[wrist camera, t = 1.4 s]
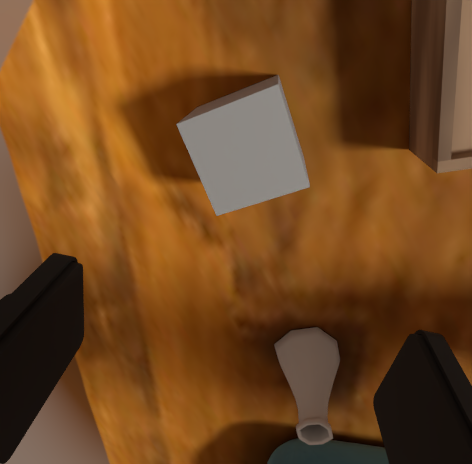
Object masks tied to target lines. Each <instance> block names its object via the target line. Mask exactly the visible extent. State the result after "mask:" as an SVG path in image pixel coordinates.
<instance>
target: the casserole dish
mask: <svg viewBox="0 0 472 464" xmlns="http://www.w3.org/2000/svg"><path fill="white" fill-rule="evenodd" d="M267 464H389V461H388V458H387V454H386V450H385V448H383V447H378V446H371V445H365V444H358V443H351V442H343V441H336V440H329V441H328V442H326V443H324V444H319V445H308V444H306V443H305V442H303V441H302V440H300V439H299V438H297V439H293V440H289V441H288V442H286V443H284V444H282V445H280V446H279V447H278V448H276V449H275V451H274V452H273V453H272V455H271V456H270V458H269V460H268V462H267Z"/></svg>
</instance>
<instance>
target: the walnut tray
mask: <svg viewBox="0 0 472 464" xmlns="http://www.w3.org/2000/svg"><path fill="white" fill-rule="evenodd" d="M409 150H410V151H411V152H412V153H414V154H415V155H416V156H417V157H418V158H420V159H421V160H422V161H423V162H424V163H426V164H427V165H428V166H429V167H430V168H432V169H433V170H434V171H435V172H436V173H442V172H449V171H456V170H463V169H471V168H472V0H412V15H411V70H410V125H409Z"/></svg>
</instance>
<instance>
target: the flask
mask: <svg viewBox="0 0 472 464" xmlns="http://www.w3.org/2000/svg"><path fill="white" fill-rule="evenodd" d="M274 346H275V350H276V353H277V357H278V360H279V363H280V366H281V368H282V370H283V372H284V374H285V376H286V378H287V381H288V383H289V385H290V387H291V390H292V392H293V395H294V397H295V399H296V403H297V407H298V414H299V423H298V424H297V425H296V431H297V434H298V438H299V439H300V440H302V441H303V442H305V443H306V444H308V445H319V444H324V443H326V442H328V441H329V440H331V439H333V434H332V430H331V426H330V424H329V423H328V418H327V414H328V401H329V397H330V393H331V389H332V386H333V382H334V379H335V376H336V373H337V370H338V366H339V363H340V355H339V350H338V344H337V341H336V340H335V339H334V338H332V337H331V336H329V335H328V334H327V333H325V332H324V331H322V330H321V329H320V328H318V327H314V328H306V329H299V330H291V331H290V332H289V333H287V334H286V335H285V336H284V337H283V338H281V339H280V340H279V341H278V342H276V343H275V344H274Z"/></svg>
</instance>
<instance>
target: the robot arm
mask: <svg viewBox="0 0 472 464" xmlns="http://www.w3.org/2000/svg"><path fill="white" fill-rule="evenodd" d="M83 337H84V303H83V266H82V264H80V263H78V262H77V259H76V258H75V257H72V256H67V255H62V254H58V253H53V254H52V255H51V256H49V257H48V258H47V259H46V260H45V261H44V262H43V263H42V264H41V265H40V266H39V267H38V268H37V269H36V270H35V271H34V272H33V273H32V274H31V275H30V276H29V277H28V278H27V279H26V280H25V281H24V282H23V283H22V284H21V285H20V286H19V287H18V288H17V289H16V290H15V291H14V292H13V293H12V294H8V295H6V296H5V297H3V298H2V299H1V300H0V463H1V464H4V463H6V462H7V461H8V460H9V459H10V457H11V456H12V454H13V453H14V451H15V449H16V448H17V446H18V445H19V443H20V442H21V440H22V438H23V437H24V435H25V434H26V432H27V430H28V429H29V427H30V425H31V424H32V422H33V421H34V419H35V418H36V416H37V414H38V413H39V411H40V410H41V408H42V406H43V405H44V403H45V401H46V400H47V398H48V397H49V395H50V394H51V392H52V390H53V389H54V387H55V386H56V384H57V382H58V381H59V379H60V377H61V376H62V374H63V373H64V371H65V370H66V368H67V366H68V365H69V363H70V362H71V360H72V358H73V357H74V355H75V354H76V352H77V350H78V349H79V347H80V345H81V343H82V341H83ZM373 404H374V410H375V414H376V417H377V421H378V425H379V428H380V432H381V436H382V439H383V443H384V447H385V450H386V454H387V458H388V461H389V464H472V386H471V384H470V382H469V380H468V379H467V377H466V375H465V373H464V372H463V370H462V368H461V366H460V364H459V363H458V361H457V359H456V357H455V356H454V354H453V352H452V350H451V349H450V347H449V345H448V343H447V342H446V340H445V338H444V337H443V336H442V335H441V334H437V333H433V332H428V331H423V330H418V331H416V332H415V334H410V335H409V336H408V337H407V339H406V341H405V343H404V344H403V346H402V348H401V350H400V351H399V353H398V355H397V357H396V358H395V360H394V362H393V364H392V365H391V367H390V369H389V371H388V372H387V374H386V376H385V378H384V379H383V381H382V383H381V385H380V386H379V388H378V390H377V392H376V393H375V396H374V401H373Z"/></svg>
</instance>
